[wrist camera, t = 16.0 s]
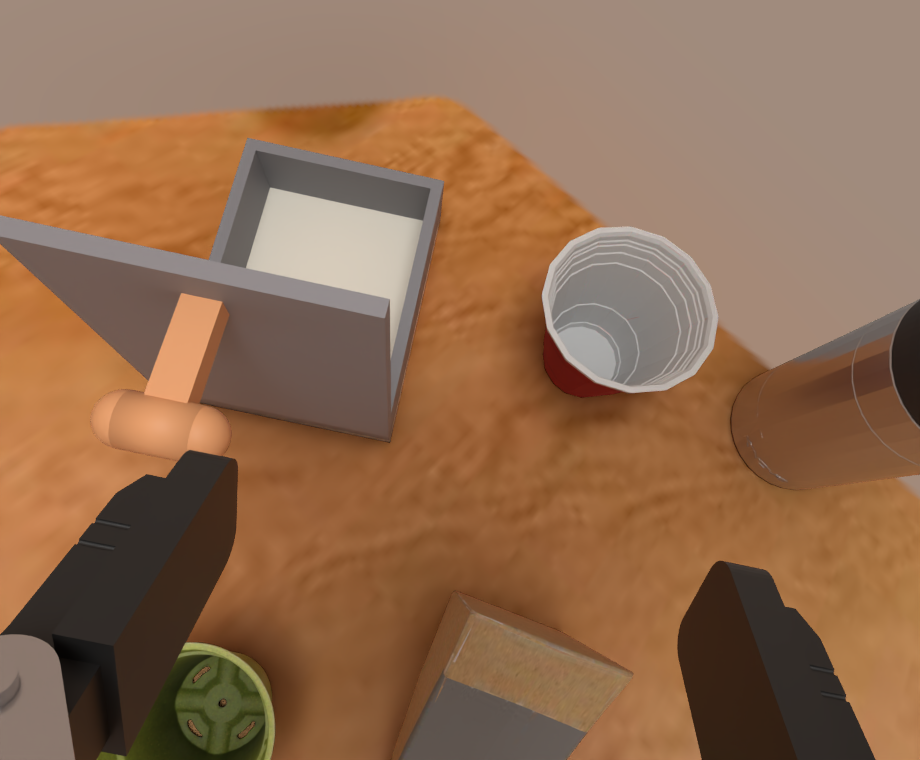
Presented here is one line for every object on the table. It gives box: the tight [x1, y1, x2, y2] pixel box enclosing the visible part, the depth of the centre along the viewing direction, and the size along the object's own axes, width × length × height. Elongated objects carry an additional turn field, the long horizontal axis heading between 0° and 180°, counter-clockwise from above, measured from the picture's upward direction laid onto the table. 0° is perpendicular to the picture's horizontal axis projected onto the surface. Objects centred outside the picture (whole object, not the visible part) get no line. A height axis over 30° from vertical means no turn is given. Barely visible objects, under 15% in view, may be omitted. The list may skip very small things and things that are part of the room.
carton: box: [200, 138, 444, 442], centre depth 47 cm, size 18×14×6 cm
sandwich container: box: [391, 591, 633, 760], centre depth 37 cm, size 9×15×15 cm, turn 159°
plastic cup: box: [542, 227, 718, 398], centre depth 45 cm, size 11×11×12 cm
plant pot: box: [97, 642, 275, 760], centre depth 39 cm, size 9×9×9 cm
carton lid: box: [0, 216, 391, 461], centre depth 32 cm, size 18×14×7 cm
